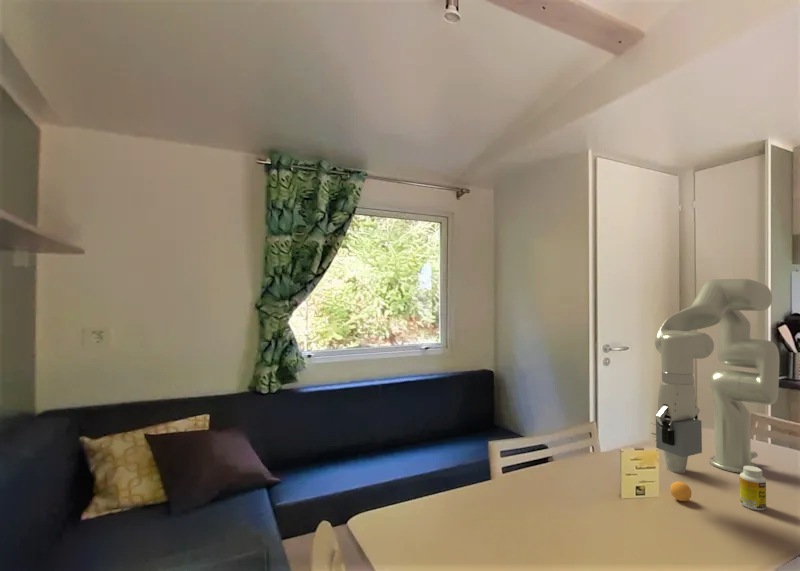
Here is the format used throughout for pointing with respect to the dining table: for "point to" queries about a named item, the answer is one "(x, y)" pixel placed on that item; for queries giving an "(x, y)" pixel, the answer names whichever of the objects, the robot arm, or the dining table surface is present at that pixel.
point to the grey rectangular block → (682, 438)
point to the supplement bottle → (752, 488)
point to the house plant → (674, 461)
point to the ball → (680, 491)
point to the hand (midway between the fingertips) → (678, 441)
